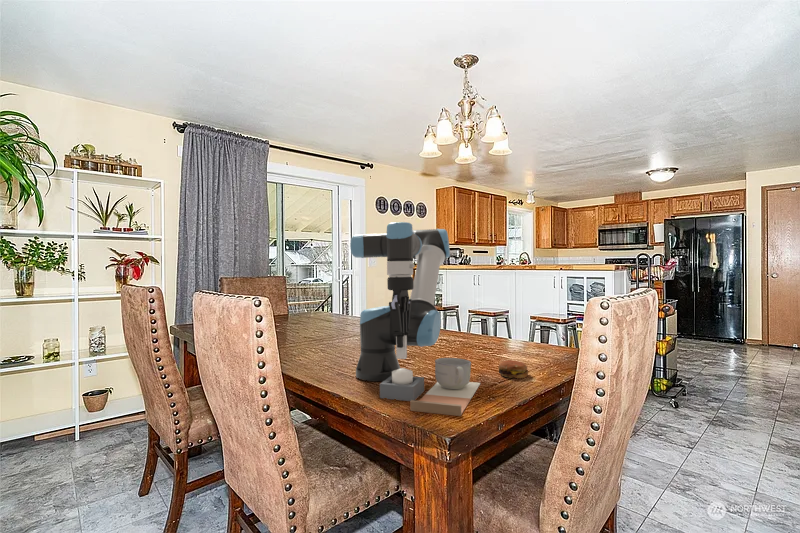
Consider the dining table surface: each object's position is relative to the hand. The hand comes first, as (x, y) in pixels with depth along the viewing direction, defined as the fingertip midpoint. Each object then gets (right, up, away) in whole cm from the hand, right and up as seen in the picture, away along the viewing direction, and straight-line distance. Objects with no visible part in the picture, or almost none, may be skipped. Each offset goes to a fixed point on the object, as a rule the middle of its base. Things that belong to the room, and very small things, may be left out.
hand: (401, 358), depth 119 cm
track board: (+13, -10, -2) cm, 17 cm away
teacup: (+16, -10, +4) cm, 19 cm away
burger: (+37, -10, +19) cm, 43 cm away
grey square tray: (0, -11, 0) cm, 11 cm away
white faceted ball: (0, -9, 0) cm, 9 cm away
